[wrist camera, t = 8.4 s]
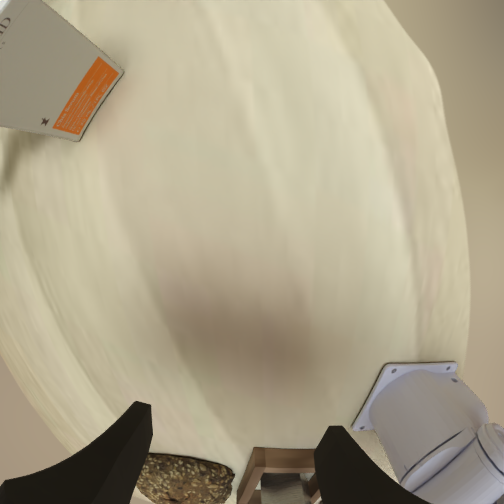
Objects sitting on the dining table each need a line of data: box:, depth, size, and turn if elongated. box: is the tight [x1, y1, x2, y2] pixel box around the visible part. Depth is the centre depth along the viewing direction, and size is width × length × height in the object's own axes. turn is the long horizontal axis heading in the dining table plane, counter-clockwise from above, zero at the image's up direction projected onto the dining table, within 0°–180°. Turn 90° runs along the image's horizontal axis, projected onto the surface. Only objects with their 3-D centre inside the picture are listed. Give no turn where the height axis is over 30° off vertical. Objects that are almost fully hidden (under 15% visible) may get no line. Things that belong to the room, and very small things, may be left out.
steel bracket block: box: [260, 472, 312, 504], centre depth 20 cm, size 6×4×6 cm, turn 18°
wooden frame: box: [237, 447, 321, 504], centre depth 22 cm, size 9×11×2 cm
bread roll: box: [136, 454, 235, 504], centre depth 21 cm, size 13×12×5 cm
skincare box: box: [0, 0, 124, 142], centre depth 9 cm, size 6×4×12 cm
